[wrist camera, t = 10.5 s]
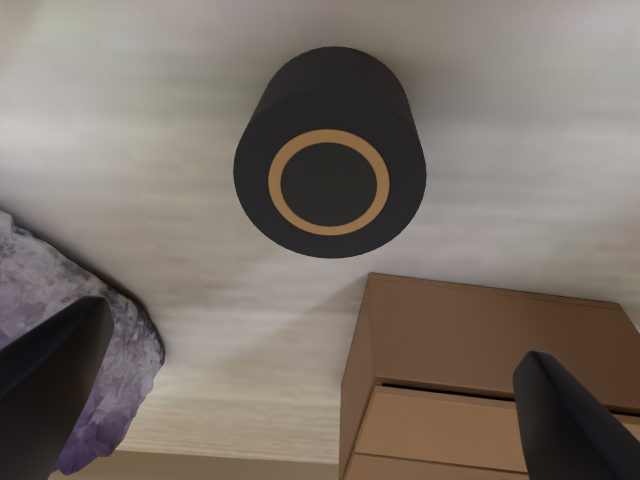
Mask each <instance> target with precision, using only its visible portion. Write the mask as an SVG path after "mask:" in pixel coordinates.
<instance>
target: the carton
mask: <svg viewBox="0 0 640 480" xmlns="http://www.w3.org/2000/svg"><path fill="white" fill-rule="evenodd" d="M530 350H538V351H546V352H549V353H551V354H552V355H554V356H555V357H556V358H557V359H558V360H559V361H560V362H561V363H562V364H563V365H564V366H565V367H566V368H567V369H568V370H569V371H570V372H571V373H572V374H573V375H574V376H575V377H576V378H577V379H578V380H579V381H580V382H581V383H582V384H583V385H584V386H585V387H586V388H587V389H588V390H589V391H590V392H591V393H592V394H593V395H594V396H595V397H596V398H597V399H598V400H599V401H600V402H601V403H602V404H603V405H604V406H605V407H606V408H607V409H608V410H609V411H610V412H611V413H612V414H617V415H625V416H633V417H640V334H639V332H638V331H637V329H636V328H635V326H634V325H633V324H632V322H631V321H630V319H629V318H628V316H627V315H626V313H625V312H624V311H623V309H622V308H621V306H620V305H619V304H616V303H608V302H600V301H592V300H584V299H576V298H568V297H560V296H552V295H544V294H536V293H528V292H520V291H512V290H504V289H496V288H488V287H480V286H472V285H464V284H456V283H448V282H440V281H432V280H424V279H416V278H408V277H400V276H392V275H384V274H376V273H369V276H368V280H367V284H366V288H365V292H364V296H363V300H362V304H361V308H360V312H359V316H358V320H357V324H356V328H355V332H354V336H353V340H352V344H351V348H350V352H349V356H348V360H347V364H346V368H345V372H344V376H343V380H342V384H341V408H340V447H339V480H529V476H528V472H521V471H513V470H504V469H496V468H487V467H479V466H470V465H462V464H453V463H444V462H436V461H427V460H419V459H410V458H402V457H393V456H385V455H376V454H368V453H359V452H355V442H356V440H357V437H358V434H359V431H360V428H361V425H362V422H363V419H364V417H365V414H366V411H367V408H368V405H369V402H370V399H371V397H372V394H373V391H374V388H375V386H384V387H392V388H400V389H409V390H417V391H425V392H434V393H442V394H450V395H458V396H467V397H475V398H483V399H492V400H500V401H508V402H515V397H514V390H513V383H512V377H513V373H514V370H515V369H516V367H517V366H518V364H519V363H520V361H521V360H522V359H523V357H524V356H525V354H526V353H527V352H528V351H530Z"/></svg>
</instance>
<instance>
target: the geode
mask: <svg viewBox="0 0 640 480" xmlns="http://www.w3.org/2000/svg"><path fill="white" fill-rule="evenodd" d="M84 295H97V296H104V297H106V298H107V299H108V301H109V304H110V307H111V311H112V314H113V317H114V321H115V329H114V333H113V336H112V338H111V341H110V344H109V346H108V349H107V352H106V354H105V357H104V360H103V362H102V365H101V367H100V370H99V373H98V375H97V378H96V381H95V383H94V386H93V389H92V391H91V393H90V396H89V398H88V401H87V403H86V405H85V407H84V409H83V411H82V413H81V415H80V417H79V419H78V421H77V423H76V425H75V427H74V429H73V431H72V433H71V435H70V437H69V439H68V440H67V442H66V444H65V446H64V448H63V450H62V452H61V454H60V456H59V458H58V460H57V462H56V464H55V466H54V468H53V470H52V472H51V473H53V472H55V471H56V470H58V469H59V470H60V471H61V472H62V473H63V474H64V475H70V474H72V473H75V472H77V471H79V470H81V469H82V468H84V467H85V466H86V465H88V464H89V463H91V462H92V461H93V460H94V459H95V458H97V457H98V456H100V457H107V456H110V455H111V454H112V453H113V451H114V450H115V448H116V447H117V446H118V445H119V444H120V443H121V442H122V440H123V439H124V437H125V435H126V433H127V430H128V428H129V426H130V424H131V421H132V419H133V418H134V417H135V416H136V413H137V409H138V407H139V406H140V404H141V403H142V402H143V401H144V400H145V398H146V396H147V394H148V393H149V392H150V391H151V390H152V388H153V380H154V377H155V376H156V374H157V372H158V371H159V369H160V368H161V367H162V365H163V364H164V360H165V349H164V345H163V343H162V341H161V339H160V337H159V334H158V331H157V329H156V327H155V326H154V325H153V324H152V322H151V321H150V319H149V317H148V314H147V313H146V311H145V310H144V309H143V308H142V306H141V305H140V304H139V303H137V302H135V301H134V300H132V299H130V298H128V297H127V296H125V295H123V294H122V293H120V292H118V291H117V290H115V289H113V288H112V287H110V286H108V285H107V284H105V283H104V282H103V281H101V280H100V279H99V278H97V277H96V276H95V275H93V274H92V273H90V272H88V271H86V270H85V269H83V268H81V267H79V266H78V265H77V264H75V263H74V262H73V261H71V260H70V259H68V258H67V257H65V256H64V255H62V254H61V253H60V252H59V251H58V250H57V249H55V248H54V247H52V246H51V245H49V244H48V243H46V242H45V241H43V240H42V239H40V238H39V237H38V236H36V235H35V234H34V233H32V232H30V231H27V230H24V229H21V228H18V227H16V226H15V224H14V221H13V218H12V216H11V215H10V214H8V213H6V212H4V211H1V210H0V349H1V348H3V347H4V346H6V345H8V344H9V343H11V342H12V341H14V340H15V339H17V338H18V337H20V336H22V335H23V334H25V333H26V332H28V331H29V330H31V329H32V328H34V327H35V326H37V325H39V324H40V323H42V322H43V321H45V320H46V319H48V318H49V317H51V316H53V315H54V314H56V313H57V312H59V311H60V310H62V309H63V308H65V307H67V306H68V305H70V304H71V303H73V302H74V301H76V300H77V299H79V298H80V297H82V296H84Z"/></svg>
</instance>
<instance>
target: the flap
mask: <svg viewBox="0 0 640 480" xmlns="http://www.w3.org/2000/svg"><path fill="white" fill-rule="evenodd" d="M613 415H614V416H615V417H616V418H617V419H618V420H619V421H620V422H621V423H622V424H623V425H624V426H625V427H626V428H627V429H628V430H629V431H630V432H631V433H632V434H633V435H634V436H635V437H636V438H637V439H638V440H639V441H640V417H633V416H625V415H617V414H613ZM355 452H359V453H368V454H376V455H385V456H393V457H402V458H410V459H419V460H427V461H436V462H444V463H453V464H462V465H470V466H479V467H487V468H496V469H504V470H513V471H521V472H527V468H526V464H525V459H524V455H523V450H522V445H521V439H520V432H519V425H518V418H517V411H516V404H515V402H508V401H500V400H492V399H483V398H475V397H467V396H458V395H450V394H442V393H434V392H425V391H417V390H409V389H400V388H392V387H384V386H375V388H374V391H373V394H372V397H371V399H370V402H369V405H368V408H367V411H366V414H365V417H364V419H363V422H362V425H361V428H360V431H359V434H358V437H357V440H356V442H355Z"/></svg>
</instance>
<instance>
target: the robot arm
mask: <svg viewBox="0 0 640 480" xmlns="http://www.w3.org/2000/svg"><path fill="white" fill-rule="evenodd" d="M114 329H115V321H114V317H113V314H112V311H111V307H110V304H109V301H108V299H107V298H106V297H104V296H97V295H84V296H82V297H80V298H79V299H77V300H76V301H74V302H73V303H71V304H70V305H68V306H67V307H65V308H63V309H62V310H60V311H59V312H57V313H56V314H54V315H53V316H51V317H49V318H48V319H46V320H45V321H43V322H42V323H40V324H39V325H37V326H35V327H34V328H32V329H31V330H29V331H28V332H26V333H25V334H23V335H22V336H20V337H18V338H17V339H15V340H14V341H12V342H11V343H9V344H8V345H6V346H4V347H3V348H1V349H0V480H48V478H49V476H50V474H51V472H52V470H53V468H54V466H55V464H56V462H57V460H58V458H59V456H60V454H61V452H62V450H63V448H64V446H65V444H66V442H67V440H68V439H69V437H70V435H71V433H72V431H73V429H74V427H75V425H76V423H77V421H78V419H79V417H80V415H81V413H82V411H83V409H84V407H85V405H86V403H87V401H88V398H89V396H90V393H91V391H92V389H93V386H94V383H95V381H96V378H97V375H98V373H99V370H100V367H101V365H102V362H103V360H104V357H105V354H106V352H107V349H108V346H109V344H110V341H111V338H112V336H113V333H114ZM512 383H513V390H514V397H515V404H516V411H517V418H518V425H519V432H520V439H521V445H522V450H523V455H524V459H525V464H526V468H527V472H528V476H529V480H640V441H639V440H638V439H637V438H636V437H635V436H634V435H633V434H632V433H631V432H630V431H629V430H628V429H627V428H626V427H625V426H624V425H623V424H622V423H621V422H620V421H619V420H618V419H617V418H616V417H615V416H614V415H613V414H612V413H611V412H610V411H609V410H608V409H607V408H606V407H605V406H604V405H603V404H602V403H601V402H600V401H599V400H598V399H597V398H596V397H595V396H594V395H593V394H592V393H591V392H590V391H589V390H588V389H587V388H586V387H585V386H584V385H583V384H582V383H581V382H580V381H579V380H578V379H577V378H576V377H575V376H574V375H573V374H572V373H571V372H570V371H569V370H568V369H567V368H566V367H565V366H564V365H563V364H562V363H561V362H560V361H559V360H558V359H557V358H556V357H555V356H554V355H552V354H551V353H549V352H546V351H538V350H530V351H528V352H527V353H526V354H525V356H524V357H523V359H522V360H521V361H520V363H519V364H518V366H517V367H516V369H515V370H514V373H513V377H512Z"/></svg>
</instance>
